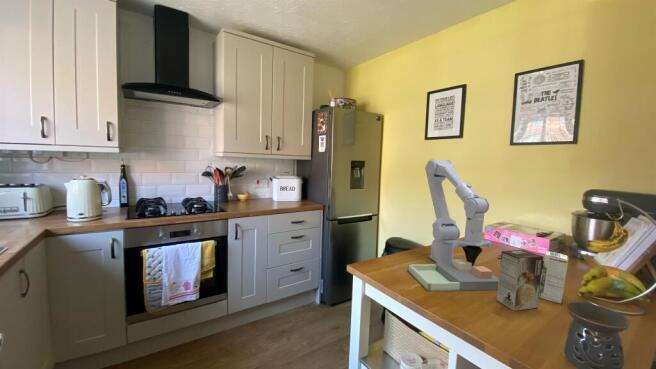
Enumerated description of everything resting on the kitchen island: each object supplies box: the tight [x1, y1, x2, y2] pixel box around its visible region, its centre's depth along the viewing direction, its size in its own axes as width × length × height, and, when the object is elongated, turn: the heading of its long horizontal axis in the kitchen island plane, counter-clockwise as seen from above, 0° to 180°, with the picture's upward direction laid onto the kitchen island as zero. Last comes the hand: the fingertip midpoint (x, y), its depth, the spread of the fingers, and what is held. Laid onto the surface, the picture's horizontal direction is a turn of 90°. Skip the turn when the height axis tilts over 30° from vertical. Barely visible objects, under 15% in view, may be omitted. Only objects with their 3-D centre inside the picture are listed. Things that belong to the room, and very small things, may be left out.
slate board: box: [434, 262, 499, 292], centre depth 100 cm, size 16×16×3 cm
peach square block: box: [471, 265, 493, 279], centre depth 96 cm, size 4×4×2 cm
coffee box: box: [496, 249, 544, 312], centre depth 83 cm, size 9×6×16 cm
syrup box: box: [539, 250, 569, 305], centre depth 88 cm, size 6×6×14 cm
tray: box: [407, 263, 460, 292], centre depth 98 cm, size 16×11×2 cm
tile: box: [453, 258, 472, 270], centre depth 103 cm, size 4×4×2 cm
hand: (470, 265), depth 103 cm, fingers closed
